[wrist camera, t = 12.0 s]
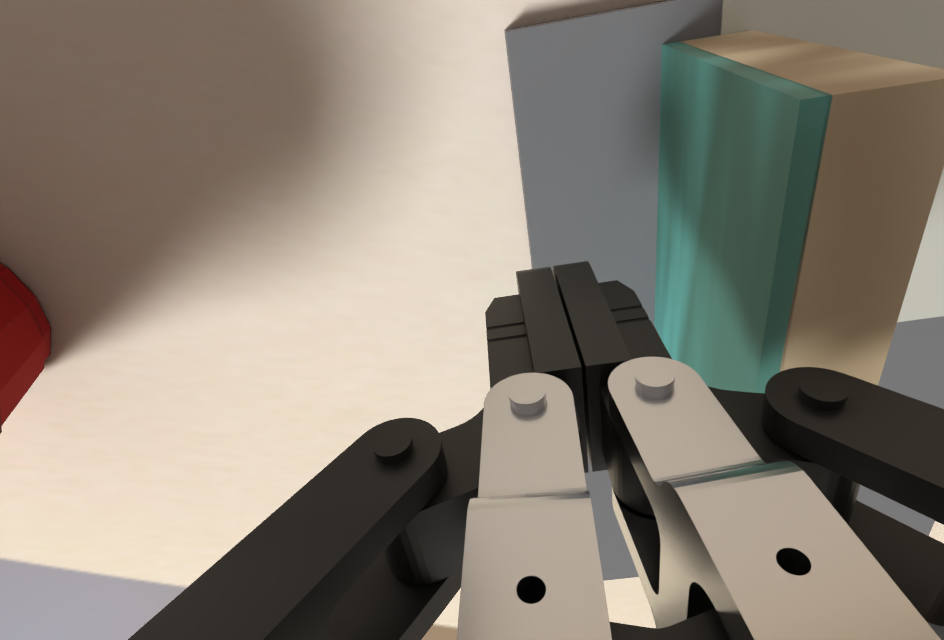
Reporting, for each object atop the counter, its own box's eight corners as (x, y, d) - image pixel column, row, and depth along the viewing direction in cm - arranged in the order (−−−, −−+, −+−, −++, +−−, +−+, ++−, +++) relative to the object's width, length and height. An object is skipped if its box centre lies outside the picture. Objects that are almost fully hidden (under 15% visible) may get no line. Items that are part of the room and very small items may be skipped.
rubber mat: (1166, -92, 12) (1200, -96, 12) (914, 534, 24) (925, 547, 23) (504, 30, 13) (506, 32, 13) (567, 571, 25) (569, 585, 24)
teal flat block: (751, 29, 13) (969, 74, 7) (722, 318, 17) (843, 500, 11) (662, 44, 13) (799, 99, 7) (654, 325, 17) (737, 507, 11)
